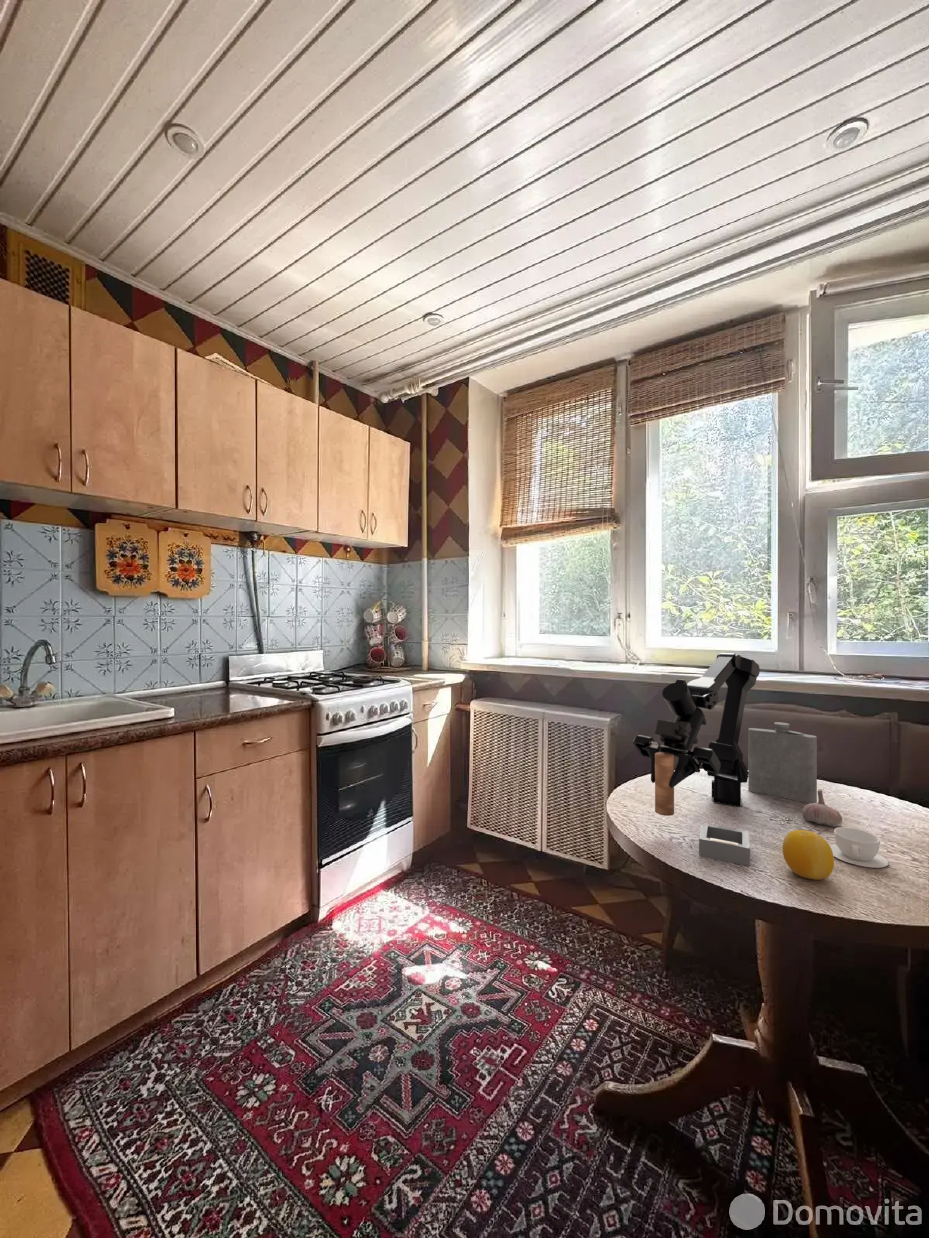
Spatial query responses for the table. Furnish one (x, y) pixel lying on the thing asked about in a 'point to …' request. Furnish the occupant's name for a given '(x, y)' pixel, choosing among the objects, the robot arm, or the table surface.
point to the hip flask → (782, 763)
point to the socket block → (724, 844)
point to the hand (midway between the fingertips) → (661, 784)
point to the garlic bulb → (821, 813)
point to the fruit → (808, 854)
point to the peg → (664, 783)
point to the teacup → (857, 847)
